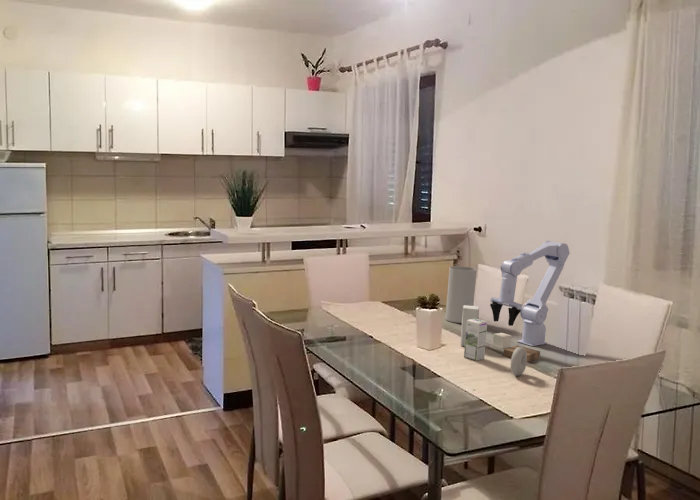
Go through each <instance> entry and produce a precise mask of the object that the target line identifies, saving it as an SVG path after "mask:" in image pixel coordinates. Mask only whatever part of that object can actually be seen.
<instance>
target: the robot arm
mask: <svg viewBox="0 0 700 500" xmlns="http://www.w3.org/2000/svg"><path fill="white" fill-rule="evenodd" d="M569 255H570V248H569V246H568V244H567V243H565V242H564V243H563V242H556V241H551V240H546V241H544V242H542V243H541V245H540V246H538V247H537V248H535V249H534V250H531V251H530V252H529V253H528V252H523V251H522V252H521V253H520V254H519V255H517V256H516V257H512V259H510V260H509V259H506V260H504V261H502V263H501V265H500V268H499V269H500V272H501V285H500V292H499V297H494V296H492V297H490V301H489V302H490V304H489V307H490V309H491V311H492V317H493V318H492V319H493V322H499V319H500V314H501V311H502V308H503V306H505V307H508V309H507V310H508V323H507V324H508V327H509V326H510V327H512V326H514V323H515V321H516V319H517V317H518V316H519V314H520V318H521V319H522V321H523V323H522V335H521V337H522V338H521V339H519V340H517V341H516V342H517V343H520V344H524V345H527V346H531V347H534V346H540V345H547V342H546V341H545V340H546V330H547V329H546V325H545V321H546V319H547V317H548V314H547V313H548V312H549V307H548V306H547V301H548V300H549V298H550V295H551V293H552V292H553V289H554V288H555V285H556V283H557V281H558V279H559V277H560V276H561V273H562V271H563V269H564V267H565V263H566V262H567V260H568V258H569ZM543 257H544V258H545V260H546V262H547V263H548V265H549V266H548V268H547V269H546V271H545V274H544V276H543V278H542V279H541V282H540V284H539V286H538V287H537V289H536V291H535V293H534V295H533V297H532V298H530V299H528V300H526V302H525V303H524V305H523V304H522V303H518V302H515V297H516V296H515V295H516V294H515V293H516V289H517V282H518V280H517V279H518V276H520V275H521V273H522V272H523V270H525V269H527V268H528V267H530V266H532V265H533V262H534V261H536V260H539V259H540V258H543Z"/></svg>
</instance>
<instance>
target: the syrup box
mask: <svg viewBox="0 0 700 500" xmlns="http://www.w3.org/2000/svg"><path fill="white" fill-rule="evenodd" d="M487 330H488V321H487V320H482V319H469V320H467V324H466V337H465V346H464V352H463V353H464V354H463V357H464V358H466V359H469V360H472V361H475V360H478V361H481V360H484V359H485V355H486V354H485V353H486V341H487V340H486V339H487ZM480 359H481V360H480Z"/></svg>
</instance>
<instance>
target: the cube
mask: <svg viewBox="0 0 700 500" xmlns="http://www.w3.org/2000/svg"><path fill="white" fill-rule="evenodd" d="M492 336H493V337H492V346H493V347H495V348H498V349H502V350H504V349H507V348H510V347H512V346H511V345H512V344H511V343H512V335H511V334H508V333H504V332H497V333H493V335H492Z"/></svg>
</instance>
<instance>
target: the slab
mask: <svg viewBox="0 0 700 500" xmlns="http://www.w3.org/2000/svg"><path fill="white" fill-rule="evenodd" d="M518 347H522V348H524V349H525V350H526V353H527V363H528V362H532V361H534V360H537V359H540V357H541V351H540V350H536V349H532V348H530V347H529V348H528V347H525V346H520V345H514V346H511V347H509V348H504V349H503V353H502V355H503V356H502V357H506V358H510V359H511V358H512V354H513V352H514V350H515V349H516V348H518Z"/></svg>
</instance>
